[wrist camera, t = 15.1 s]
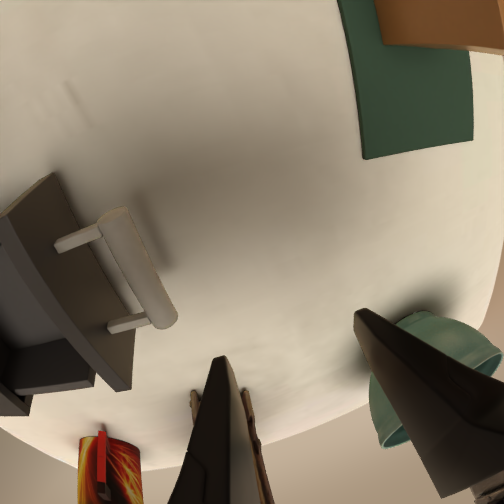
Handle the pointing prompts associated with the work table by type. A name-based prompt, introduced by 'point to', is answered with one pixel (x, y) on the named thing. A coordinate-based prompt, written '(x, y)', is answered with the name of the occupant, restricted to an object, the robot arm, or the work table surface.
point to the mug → (108, 471)
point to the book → (255, 443)
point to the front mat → (405, 88)
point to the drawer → (70, 296)
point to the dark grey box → (14, 403)
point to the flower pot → (447, 341)
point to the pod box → (443, 24)
